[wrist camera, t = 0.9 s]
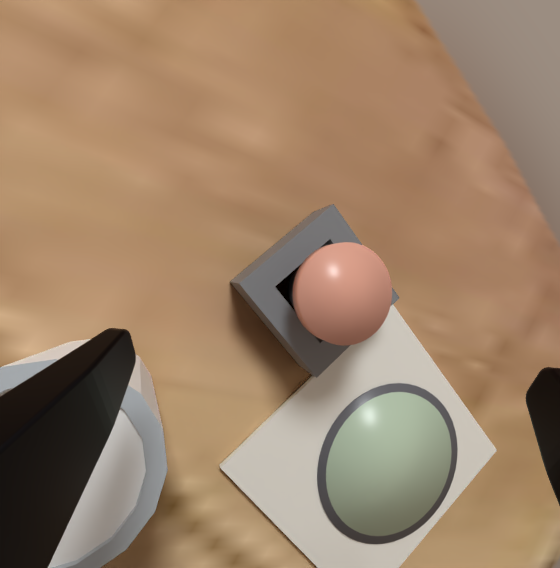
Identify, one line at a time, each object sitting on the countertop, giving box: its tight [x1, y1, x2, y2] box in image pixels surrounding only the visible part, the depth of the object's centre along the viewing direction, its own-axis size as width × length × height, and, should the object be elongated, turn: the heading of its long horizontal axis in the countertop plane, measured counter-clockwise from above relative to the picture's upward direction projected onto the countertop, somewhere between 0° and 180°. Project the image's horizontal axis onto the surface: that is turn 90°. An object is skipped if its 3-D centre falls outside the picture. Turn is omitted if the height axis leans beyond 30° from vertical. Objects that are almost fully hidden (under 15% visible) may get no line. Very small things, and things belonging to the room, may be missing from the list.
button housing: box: [230, 204, 399, 378], centre depth 19 cm, size 6×6×2 cm
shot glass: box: [0, 339, 168, 568], centre depth 14 cm, size 7×7×7 cm
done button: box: [288, 242, 392, 346], centre depth 17 cm, size 4×4×4 cm
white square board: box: [220, 305, 497, 568], centre depth 22 cm, size 13×13×1 cm
